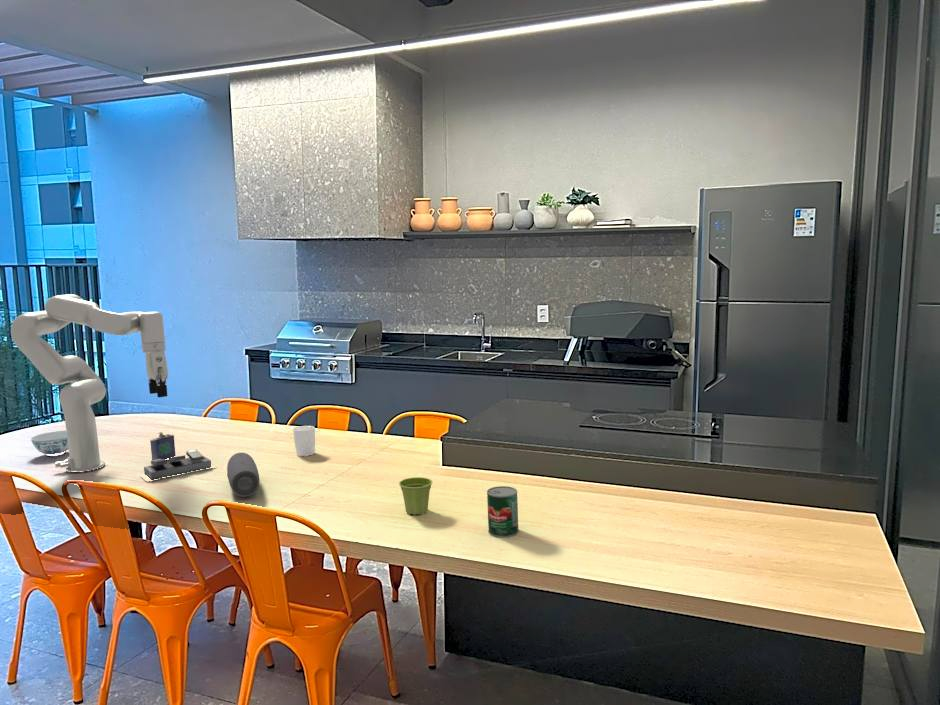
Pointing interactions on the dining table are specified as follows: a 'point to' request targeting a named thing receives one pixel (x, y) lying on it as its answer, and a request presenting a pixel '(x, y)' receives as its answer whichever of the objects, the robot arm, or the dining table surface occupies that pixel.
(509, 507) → the canned tomato
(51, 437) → the chinaware
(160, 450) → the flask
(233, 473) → the bluetooth speaker
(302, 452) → the white cup
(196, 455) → the rocker right
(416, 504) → the plant pot
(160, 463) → the rocker left
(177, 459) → the rocker middle
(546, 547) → the dining table surface
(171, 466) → the power strip
